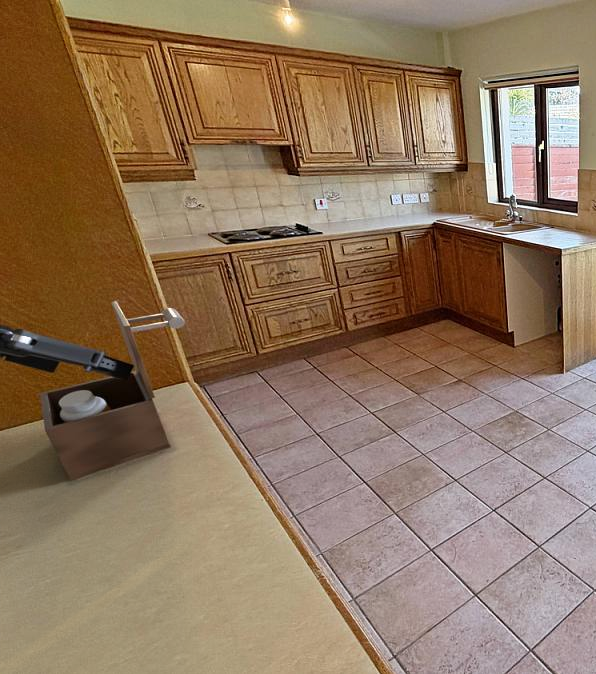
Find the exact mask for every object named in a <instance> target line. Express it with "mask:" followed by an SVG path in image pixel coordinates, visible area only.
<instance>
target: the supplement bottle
mask: <svg viewBox="0 0 596 674" xmlns="http://www.w3.org/2000/svg"><path fill="white" fill-rule="evenodd" d="M59 405H60V406H61V408H62V410H61V412H60V417H61V419H62V420H63V421H64V423H66V422H70V421H74V420H77V419H81V418H85V417H88V416H92V415H96V414H100V413H103V412H107V411H111V409H110V407H109V406H108V404H107V403H106V402H105V400H104V399H102V398H100V397H95V396H94V395H93V394H92V393H91V392H90V391H87V390H81V391H76V392H72V393H70V394H67V395H66V396H64V397H63V398H61V399H60V401H59Z"/></svg>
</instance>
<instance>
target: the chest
mask: <svg viewBox="0 0 596 674" xmlns="http://www.w3.org/2000/svg"><path fill="white" fill-rule="evenodd" d="M81 390H87V391H90V392H91V393H92V394H93V395H94V396H95V397H100V398H102V399H104V400H105V402H106V403H107V404H108V406H109V407H110V409H111V411H107V412H103V413H100V414H96V415H92V416H88V417H85V418H81V419H77V420H74V421H70V422H66V423H64V421H63V420H62V419H61V417H60V412H61V410H62V408H61V406H60V405H59V401H60V399H61V398H63V397H64V396H66V395H67V394H70V393H72V392H76V391H81ZM39 397H40V403H41V411H42V418H43V419H42V420H43V425H44V426H43V427H44V431H45V434H46V436H47V438H48V440H49V441H50V444H51V445H52V448H53V450H54V452H55V454H56V456H57V458H58V459H59V461H60V463H61V465H62V467H63V469H64V471H65V473H66V476H67V478H68V480H69V481H70V482H71V481H74V480H76V479H80V478H82V477H86V476H89V475H91V474H94V473H98V472H101V471H103V470H107V469H110V468H113V467H116V466H119V465H122V464H124V463H127V462H130V461H134V460H137V459H140V458H142V457H146V456H149V455H151V454H154V453H158V452H161V451H164V450H167V449H170V448H172V447H171V446H172V445H171V443H170V441H169V439H168V436H167V433H166V430H165V427H164V425H163V422H162V420H161V418H160V414H159V412H158V409H157V407H156V403H155V402H154V398H152V399H149V397H148V395H147V393H146V390H145V388H144V386H143V384H142V382H141V380H140V378H139V376H138V374H137V372H136V370H132V371H131V373H130V375H129V378H128V380H122V379H118V378H115V377H112V376H107V377H103V378H98V379H94V380H90V381H86V382H85V381H84V382H82V383H77V384H72V385H68V386H65V387H61V388H55V389H52V390H48V391H47V390H46V391H43V392H40V394H39Z"/></svg>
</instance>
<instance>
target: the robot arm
mask: <svg viewBox="0 0 596 674" xmlns="http://www.w3.org/2000/svg"><path fill="white" fill-rule="evenodd" d="M106 354H107V352H106V351H104V350H101V349H100V350H98V349H95V348H90V347H86V346H83V345H79V344H75V343H71V342H68V341H63V340H60V339H56V338H52V337H48V336H45V335H41V334H37V333H33V332H31V331H27V330H25V329H23V328H15V329H13V328H12V327H10V326H8V325H4V324H0V360H2V359H3V358H4V361H6V362H9V363H12V364H17V365H21V366H23V367H28V368H31V369H35V370H39V371H43V372H47V373H51V374H54V373H55V372H56V370H57V368H58V366H59V364H60V363H65V364H70V365H75V366H78V367H79V366H80V367H82V369H84V373H91V371H92V372H94V373H98V374H101V375H106V376H107V377H111V376H112V377H115V378H118V379H122V380H128V378H129V375H130V373H131V372H132V371H133V369H134V365H133V363H129V362H126V361H122V360H119V359H117V358H113V357H111V356H108V355H106Z"/></svg>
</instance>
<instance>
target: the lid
mask: <svg viewBox="0 0 596 674" xmlns="http://www.w3.org/2000/svg"><path fill="white" fill-rule="evenodd" d="M110 304H111V306H112V309H113V312H114V315H115V317H116V320H117V322H118V326H119V329H120V331H121V334H122V337H123V340H124V342H125V346H126V348H127V351H128V354H129V357H130V360H131V362H132V365H134V367H133V369H134V371H136V372H137V374H138V376H139V378H140V380H141V382H142V384H143V386H144V388H145V390H146V393H147V395H148V397H149V399H155V398H156V396H155V393H154V391H153V387H152V385H151V382H150V380H149V379H150V378H149V377H148V373H147V371H146V367H145V364H144V362H143V358H142V356H141V353H140V351H139V346H138V344H137V342H136V338H135V336H134V333H136V332H140V331H141V332H143V331H148V330H153V329H159V328H163V327H170V328H172V329H177V330H178V329H181V328H183V327H184V326H185V323H186V321H185V319H184V318H183V317H182V315H180V313H179V312H178V311H177V310H176V309H174V308H172V307H168V308H165V309H163V310H162V311H161V313H157V314H150V315H144V316H138V317H133V318H127V317H126V316H125V314H124V312H123V311H122V309H121V307H120V305H119V303H118V301H117V300H115V301H114V300H113V301H111V302H110ZM159 319H164V320H165V321H160V322H155V323H148V324H143V325H138V326H132V327H131V324H137V323H142V322H148V321H154V320H159Z"/></svg>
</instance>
